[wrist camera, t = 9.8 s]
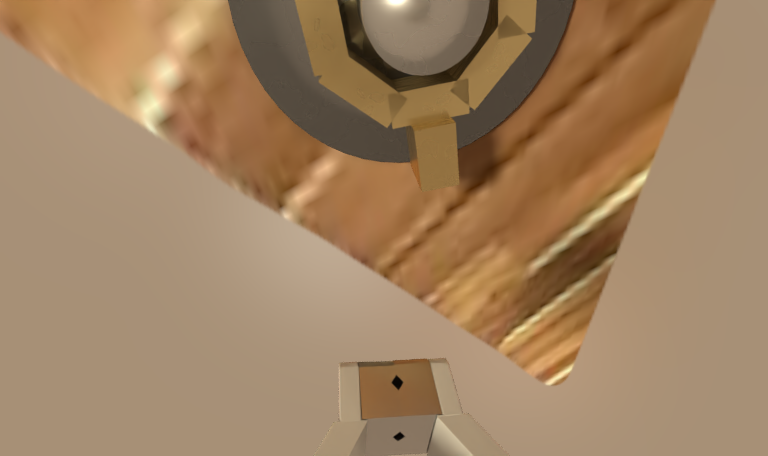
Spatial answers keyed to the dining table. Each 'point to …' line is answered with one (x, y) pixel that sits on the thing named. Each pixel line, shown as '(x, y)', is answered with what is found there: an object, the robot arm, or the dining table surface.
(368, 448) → the robot arm
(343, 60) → the ring nut
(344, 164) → the dining table surface
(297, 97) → the hub plate
